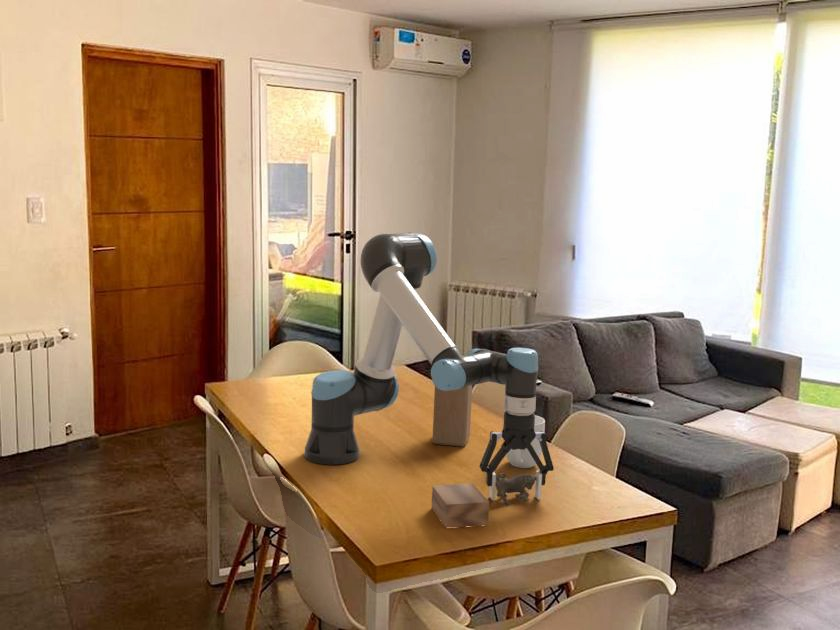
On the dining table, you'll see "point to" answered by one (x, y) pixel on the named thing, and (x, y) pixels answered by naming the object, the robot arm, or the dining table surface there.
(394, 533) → the dining table surface
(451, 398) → the wooden block
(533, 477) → the grey animal figure
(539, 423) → the mug
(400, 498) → the dining table surface
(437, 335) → the robot arm
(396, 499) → the dining table surface
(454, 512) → the walnut block
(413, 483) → the dining table surface
